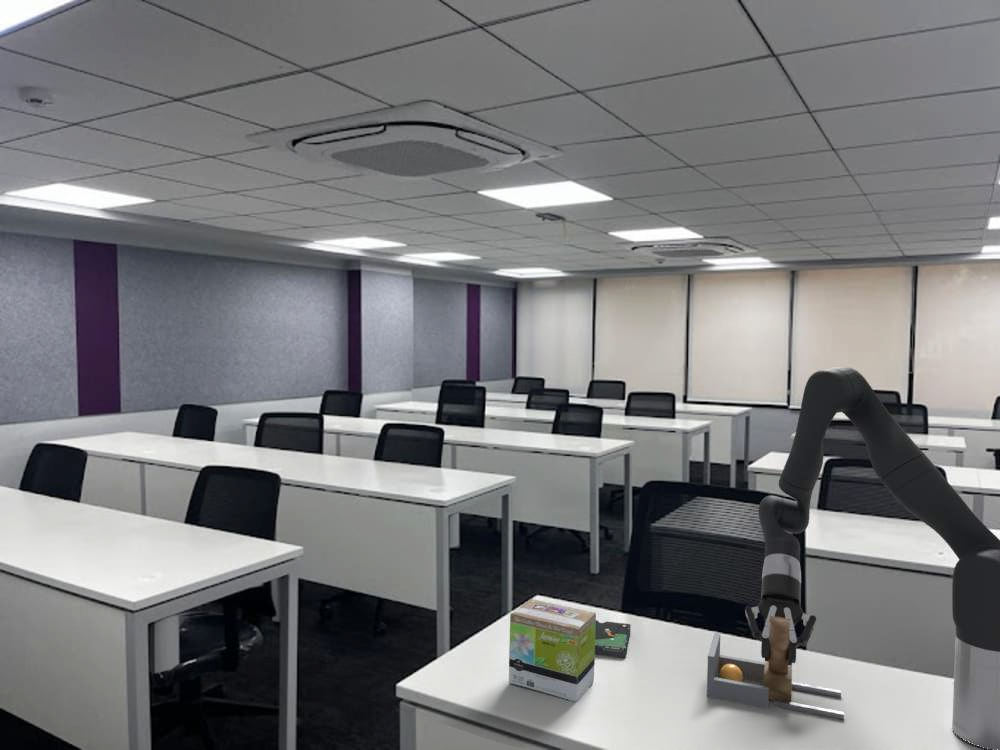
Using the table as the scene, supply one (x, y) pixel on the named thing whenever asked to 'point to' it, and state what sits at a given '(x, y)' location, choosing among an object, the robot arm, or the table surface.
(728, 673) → the ball
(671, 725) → the table surface
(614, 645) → the disk drive
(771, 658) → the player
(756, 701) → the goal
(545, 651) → the tea box
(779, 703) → the track
